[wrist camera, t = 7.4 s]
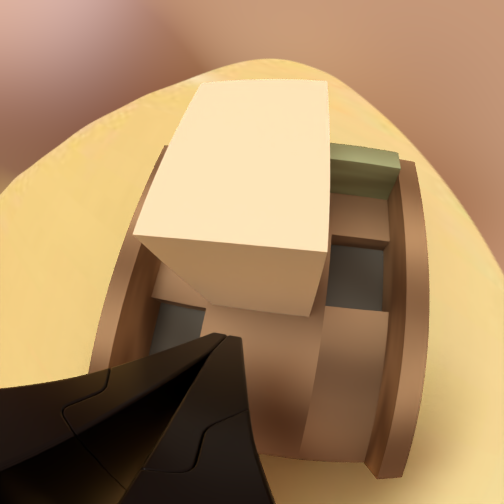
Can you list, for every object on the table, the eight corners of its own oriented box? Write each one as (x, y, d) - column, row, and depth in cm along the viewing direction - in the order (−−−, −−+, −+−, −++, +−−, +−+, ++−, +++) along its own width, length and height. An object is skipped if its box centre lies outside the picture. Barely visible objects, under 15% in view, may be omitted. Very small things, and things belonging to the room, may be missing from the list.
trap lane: (377, 454, 11) (405, 480, 7) (124, 403, 14) (77, 407, 10) (396, 200, 17) (417, 156, 13) (184, 181, 20) (161, 140, 16)
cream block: (309, 316, 13) (327, 252, 6) (212, 304, 14) (132, 234, 7) (319, 197, 16) (327, 81, 9) (236, 191, 17) (201, 83, 10)
